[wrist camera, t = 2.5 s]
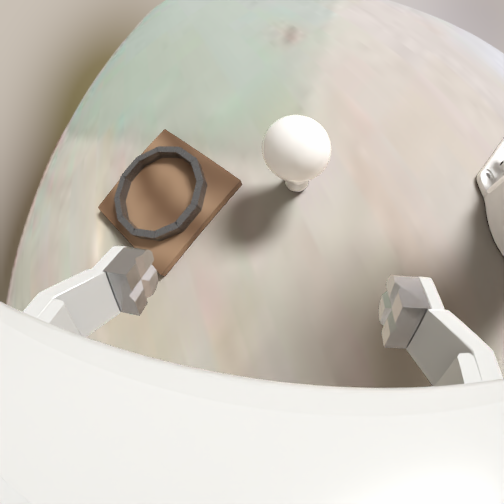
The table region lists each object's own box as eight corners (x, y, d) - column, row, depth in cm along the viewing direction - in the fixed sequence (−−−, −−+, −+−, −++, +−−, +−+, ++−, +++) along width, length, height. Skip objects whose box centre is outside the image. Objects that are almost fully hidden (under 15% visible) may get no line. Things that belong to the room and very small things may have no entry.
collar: (163, 138, 35) (159, 132, 34) (225, 182, 33) (222, 176, 31) (107, 205, 35) (100, 201, 33) (160, 260, 32) (154, 257, 31)
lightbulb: (262, 169, 34) (247, 113, 23) (311, 153, 33) (315, 93, 23) (280, 216, 32) (273, 172, 22) (332, 198, 32) (347, 148, 21)
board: (168, 133, 37) (164, 129, 36) (242, 184, 34) (240, 180, 33) (102, 210, 36) (97, 207, 35) (165, 276, 33) (160, 274, 32)
